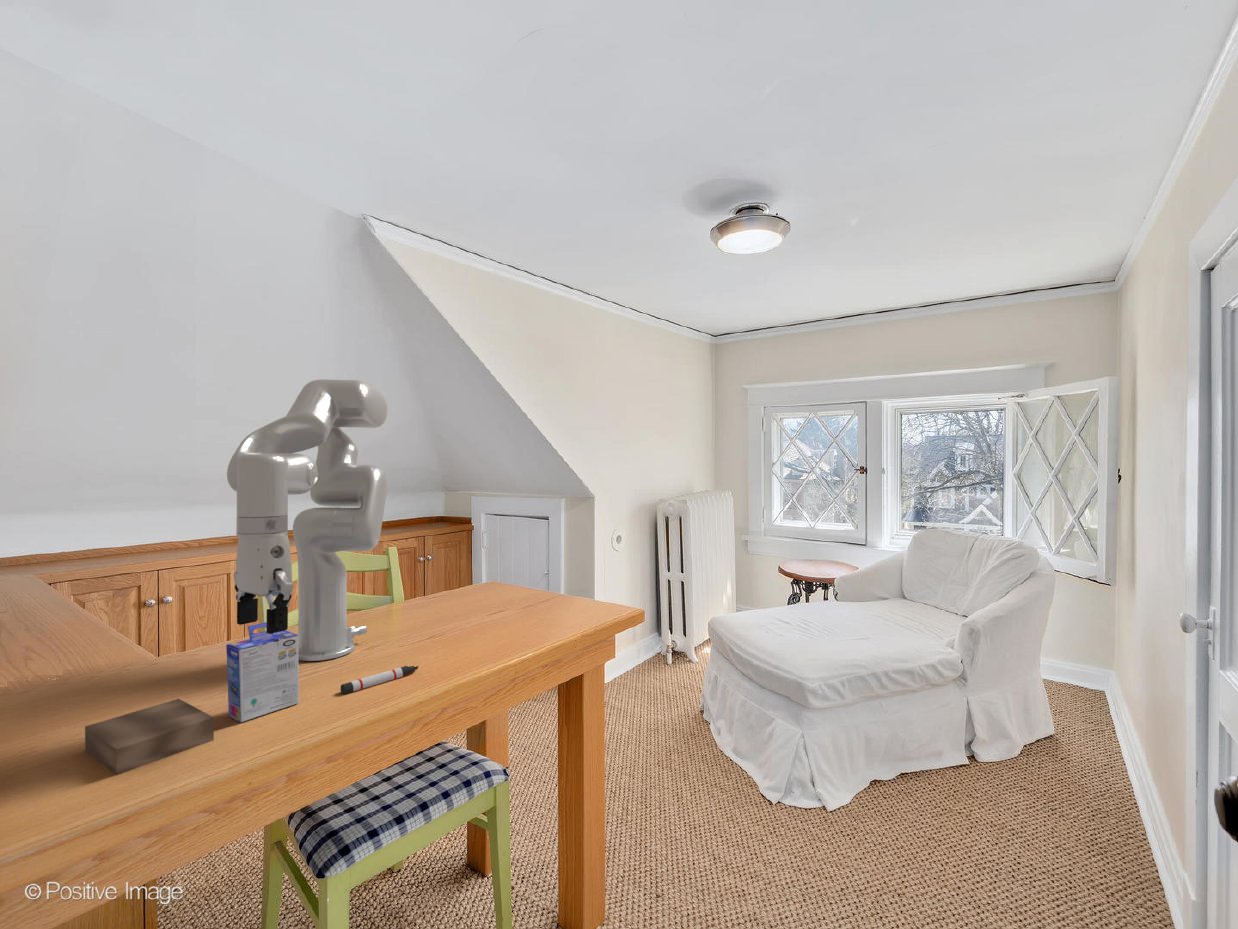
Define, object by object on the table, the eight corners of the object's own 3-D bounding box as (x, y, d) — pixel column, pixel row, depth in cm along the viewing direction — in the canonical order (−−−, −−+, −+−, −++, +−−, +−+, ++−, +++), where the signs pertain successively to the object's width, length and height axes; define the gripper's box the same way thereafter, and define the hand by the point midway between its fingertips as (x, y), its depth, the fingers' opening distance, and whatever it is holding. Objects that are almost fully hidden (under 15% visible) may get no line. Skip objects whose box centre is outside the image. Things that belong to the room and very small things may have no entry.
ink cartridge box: (285, 695, 110) (285, 616, 110) (301, 703, 107) (301, 621, 106) (225, 715, 102) (224, 629, 102) (240, 724, 99) (239, 635, 98)
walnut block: (179, 722, 100) (178, 698, 100) (213, 742, 93) (213, 717, 93) (85, 753, 90) (84, 726, 90) (116, 778, 83) (116, 749, 83)
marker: (345, 696, 111) (345, 685, 111) (340, 693, 112) (340, 683, 112) (421, 673, 122) (421, 663, 122) (415, 671, 123) (415, 661, 123)
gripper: (312, 527, 102) (311, 630, 102) (259, 521, 111) (258, 615, 111) (266, 532, 95) (265, 641, 95) (214, 525, 105) (213, 624, 105)
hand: (261, 627), depth 103 cm, fingers open, 9 cm apart
